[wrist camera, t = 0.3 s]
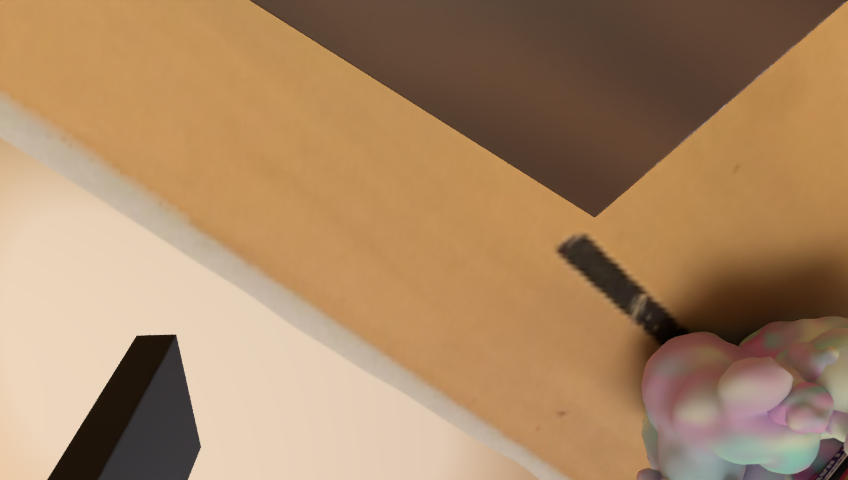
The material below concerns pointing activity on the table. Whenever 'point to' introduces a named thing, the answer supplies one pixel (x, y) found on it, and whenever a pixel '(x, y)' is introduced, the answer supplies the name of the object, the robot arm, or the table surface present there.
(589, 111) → the cabinet
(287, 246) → the table surface
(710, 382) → the pastel lumpy blob
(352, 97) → the table surface
